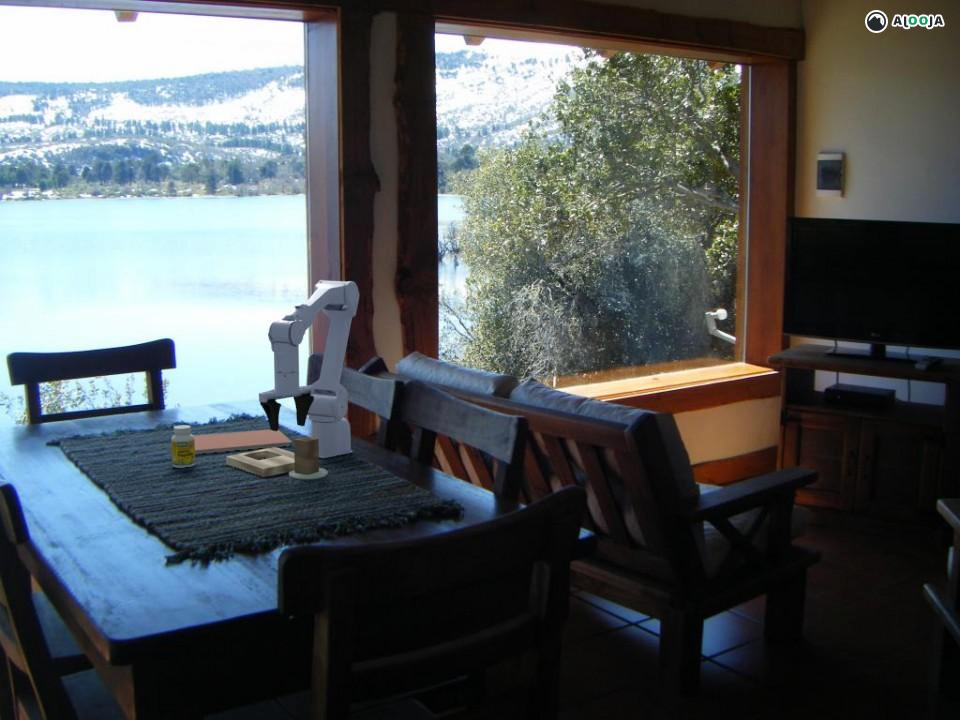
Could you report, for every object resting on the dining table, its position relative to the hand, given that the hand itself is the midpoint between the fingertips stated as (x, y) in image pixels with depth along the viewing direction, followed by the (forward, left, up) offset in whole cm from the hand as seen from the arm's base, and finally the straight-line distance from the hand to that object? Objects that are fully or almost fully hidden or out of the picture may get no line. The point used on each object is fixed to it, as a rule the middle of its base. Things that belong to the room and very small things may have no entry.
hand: (287, 427), depth 247 cm
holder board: (+1, -7, -10) cm, 13 cm away
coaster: (-1, +6, -10) cm, 12 cm away
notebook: (-5, -32, -11) cm, 35 cm away
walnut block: (-1, +6, -10) cm, 11 cm away
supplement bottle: (+16, -21, -11) cm, 28 cm away
